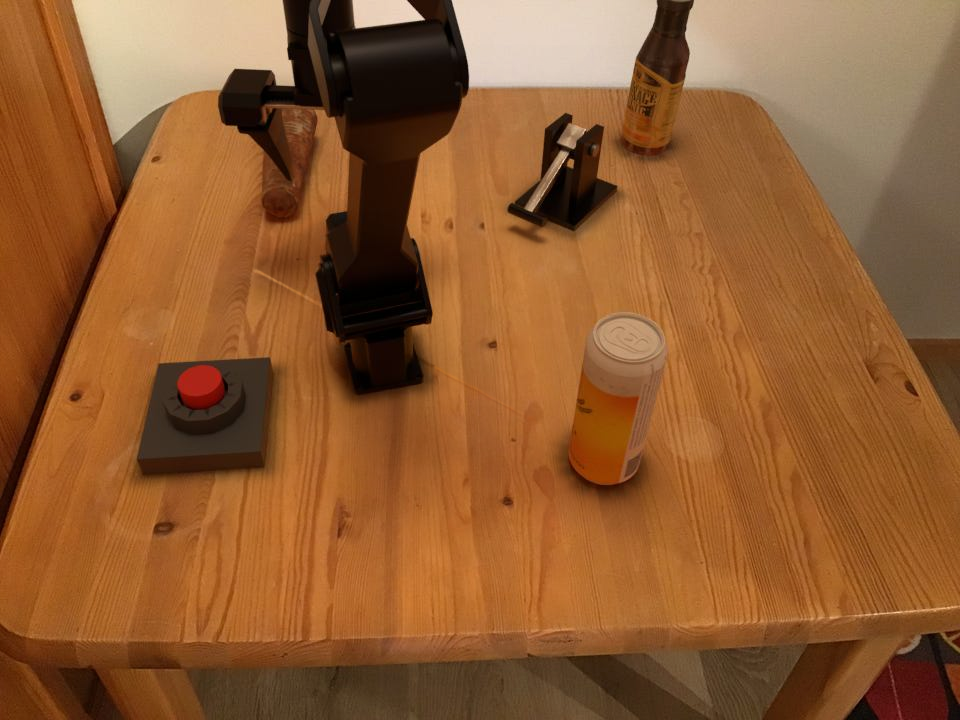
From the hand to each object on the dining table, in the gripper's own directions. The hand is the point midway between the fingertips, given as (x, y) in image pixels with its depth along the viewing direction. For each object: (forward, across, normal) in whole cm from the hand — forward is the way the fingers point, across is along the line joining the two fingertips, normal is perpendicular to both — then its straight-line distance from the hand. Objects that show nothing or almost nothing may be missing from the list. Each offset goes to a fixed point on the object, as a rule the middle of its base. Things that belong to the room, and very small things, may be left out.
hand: (338, 180), depth 82 cm
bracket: (+11, -24, -14) cm, 30 cm away
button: (+7, +9, +22) cm, 25 cm away
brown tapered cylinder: (+11, +9, -17) cm, 22 cm away
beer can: (+11, -26, +24) cm, 37 cm away
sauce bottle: (+11, -34, -27) cm, 45 cm away
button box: (+11, +9, +22) cm, 26 cm away
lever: (+6, -22, -11) cm, 25 cm away
